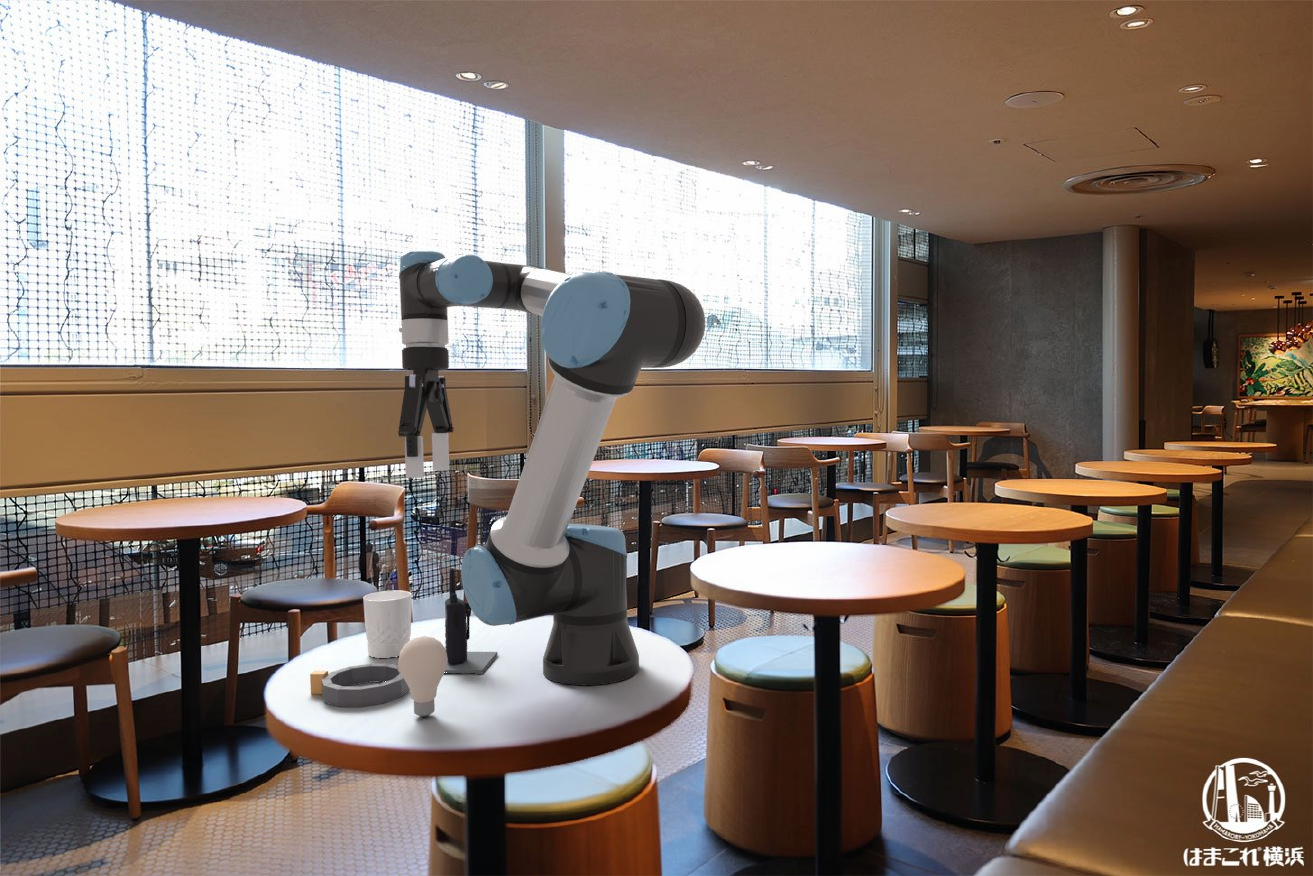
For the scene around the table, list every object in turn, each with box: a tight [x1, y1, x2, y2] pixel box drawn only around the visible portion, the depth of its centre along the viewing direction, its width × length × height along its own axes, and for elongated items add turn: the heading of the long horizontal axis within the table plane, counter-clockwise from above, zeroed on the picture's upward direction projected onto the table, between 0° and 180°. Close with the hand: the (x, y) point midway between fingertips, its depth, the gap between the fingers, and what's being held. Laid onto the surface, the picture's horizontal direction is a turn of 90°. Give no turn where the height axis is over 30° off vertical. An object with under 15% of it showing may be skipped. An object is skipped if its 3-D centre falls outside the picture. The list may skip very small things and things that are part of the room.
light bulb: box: [397, 635, 448, 718], centre depth 119 cm, size 7×7×11 cm
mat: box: [445, 651, 498, 675], centre depth 142 cm, size 10×10×1 cm
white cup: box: [362, 589, 413, 659], centre depth 149 cm, size 8×8×10 cm
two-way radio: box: [444, 567, 472, 664], centre depth 142 cm, size 6×4×15 cm
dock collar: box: [309, 663, 410, 708], centre depth 129 cm, size 14×12×3 cm
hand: (428, 474), depth 146 cm, fingers open, 13 cm apart
